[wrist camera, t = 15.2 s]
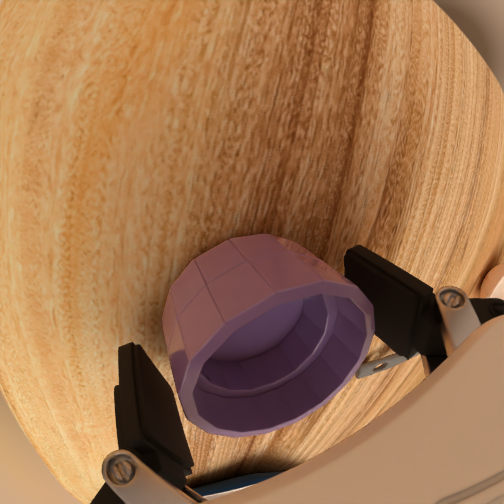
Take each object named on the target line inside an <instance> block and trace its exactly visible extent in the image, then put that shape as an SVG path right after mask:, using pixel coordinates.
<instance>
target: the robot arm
mask: <svg viewBox="0 0 504 504" xmlns="http://www.w3.org/2000/svg"><path fill="white" fill-rule="evenodd" d="M344 268H345V277H346V278H347V279H348V280H350V281H351V282H352V283H354V284H355V285H356V286H358V287H359V289H360V290H361V291H362V292H363V293H364V294H365V296H366V297H367V298H368V299H369V300H370V302H371V303H372V304H373V307H374V319H375V333H374V334H375V335H376V336H377V337H379V338H380V339H381V340H382V341H383V342H384V343H385V344H386V345H388V346H389V347H390V348H391V349H392V350H393V351H394V352H395V353H396V354H398V355H399V356H404V357H405V358H406V359H407V360H409V359H410V358H411V357H412V356H414V355H415V354H416V353H417V352H418V353H420V354H421V358H422V362H423V367H424V372H425V378H426V379H425V380H423V381H422V382H421V383H420V384H419V385H418V386H417V387H415V388H414V389H413V390H412V391H411V392H410V393H408V394H407V395H406V396H405V397H403V398H402V399H401V400H400V401H399V402H397V403H396V404H395V405H393V406H392V407H391V408H390V409H388V410H387V411H386V412H384V413H383V414H382V415H380V416H379V417H377V418H376V419H375V420H373V421H372V422H370V423H369V424H368V425H366V426H365V427H363V428H362V429H360V430H359V431H357V432H356V433H354V434H353V435H351V436H349V437H348V438H346V439H345V440H343V441H341V442H340V443H338V444H336V445H335V446H333V447H331V448H330V449H328V450H326V451H324V452H322V453H321V454H319V455H317V456H315V457H313V458H311V459H310V460H308V461H306V462H304V463H302V464H300V465H298V466H296V467H294V468H292V469H289V470H287V471H285V472H283V473H281V474H279V475H276V476H274V477H272V478H269V479H267V480H265V481H262V482H260V483H257V484H255V485H252V486H249V487H247V488H244V489H241V490H239V491H236V492H233V493H230V494H227V495H224V496H221V497H218V498H215V499H212V500H207V499H205V498H204V497H202V496H201V495H199V494H198V493H196V492H195V491H193V490H192V489H190V488H189V487H188V486H186V483H187V480H186V477H185V476H187V475H191V474H193V473H192V470H191V467H193V466H194V462H193V459H192V456H191V453H190V450H189V447H188V443H187V440H186V437H185V434H184V430H183V427H182V423H181V420H180V416H179V412H178V409H177V405H176V401H175V397H174V393H173V391H172V388H171V387H170V385H169V384H168V382H167V381H166V380H165V379H164V377H163V376H162V375H161V373H160V372H159V371H158V369H157V368H156V366H155V365H154V364H153V362H152V361H151V360H150V358H149V357H148V355H147V354H146V353H145V351H144V350H143V348H142V347H141V345H140V344H137V345H135V344H134V343H133V342H131V343H128V344H126V345H123V346H120V347H119V348H118V367H119V385H117V386H115V388H114V402H115V417H116V428H117V438H118V447H119V450H116V451H113V452H111V453H110V454H109V455H107V457H106V458H105V459H104V461H103V464H102V475H103V478H104V480H105V481H106V482H105V483H104V485H103V486H102V488H101V489H100V491H99V492H98V493H97V495H96V496H95V498H94V499H93V500H92V502H91V503H90V504H504V300H502V299H500V298H468V296H467V295H466V293H465V292H464V291H463V290H461V289H460V288H457V287H454V286H445V287H442V288H440V289H439V290H438V291H437V292H436V295H435V294H434V293H433V288H432V287H430V286H428V285H427V284H425V283H424V282H422V281H421V280H419V279H417V278H416V277H414V276H412V275H411V274H409V273H408V272H406V271H404V270H403V269H401V268H399V267H398V266H396V265H394V264H393V263H391V262H389V261H388V260H386V259H384V258H382V257H381V256H379V255H377V254H376V253H374V252H372V251H370V250H369V249H367V248H365V247H363V246H362V245H356V246H354V247H352V248H350V249H348V250H347V251H346V255H345V256H344Z"/></svg>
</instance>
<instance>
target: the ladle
mask: <svg viewBox="0 0 504 504" xmlns="http://www.w3.org/2000/svg"><path fill="white" fill-rule="evenodd" d="M480 297H481V298H500V299H502V300H504V263H503V264H500V265H497V266H495V267H494V268H492V269H491V270H490V271H489V273H488V274H487V275H486V277H485V278H484V280H483V283H482V286H481V293H480ZM418 354H420V353H418V352H417V353H416V354H415V355H414V356H416V355H418ZM414 356H412V357H414ZM412 357H411V358H412ZM406 360H407V359H406V358H405V357H404V356H399V355H398V354H396V353H395V354H392V355H389V356H386V357H384V358H381V359H378V360H373V361H370V362H367V363H364V364H361V365H360V367H359V368H358V370H357V371H356V373H355V376H356V378H358V379H359V378H363V377H366V376H369V375H372V374H374V373H377V372H380V371H383V370H386V369H389V368H391V367H393V366H395V365H398V364H400V363H402V362H404V361H406ZM381 363H383V364H382V365H381V366H379V367H377V368H375V367H376V366H377V365H379V364H381Z"/></svg>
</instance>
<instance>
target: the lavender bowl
mask: <svg viewBox="0 0 504 504" xmlns="http://www.w3.org/2000/svg"><path fill="white" fill-rule="evenodd" d="M161 322H162V327H163V332H164V337H165V342H166V347H167V352H168V356H169V361H170V365H171V369H172V373H173V378H174V382H175V386H176V389H177V393H178V397H179V400H180V402H181V405H182V408H183V411H184V414H185V417H186V418H187V420H189V421H190V422H192V423H193V424H195V425H196V426H198V427H199V428H201V429H202V430H204V431H205V432H207V433H209V434H215V435H221V436H228V437H245V436H253V435H260V434H266V433H269V432H272V431H275V430H278V429H280V428H283V427H286V426H288V425H291V424H293V423H296V422H298V421H300V420H301V419H303V418H304V417H306V416H308V415H309V414H311V413H313V412H314V411H316V410H317V409H319V408H320V407H322V406H323V405H325V404H326V403H327V402H328V401H329V400H331V399H332V398H333V397H334V396H335V395H336V394H337V393H338V392H339V391H340V390H341V389H342V388H343V387H344V386H345V385H346V384H347V383H348V382H349V381H350V380H351V378H352V377H353V375H354V374H355V373H356V371H357V370H358V368H359V367H360V365H361V364H362V362H363V361H364V359H365V358H366V356H367V353H368V350H369V347H370V345H371V342H372V339H373V336H374V333H375V319H374V307H373V304H372V303H371V302H370V300H369V299H368V298H367V297H366V296H365V294H364V293H363V292H362V291H361V290H360V289H359V287H358V286H356V285H355V284H354V283H352V282H351V281H350V280H348V279H347V278H346V277H344V276H343V275H341V274H340V273H339V272H337V271H336V270H335V269H333V268H332V267H331V266H329V265H328V264H326V263H325V262H323V261H322V260H321V259H319V258H318V257H316V256H315V255H314V254H312V253H311V252H309V251H308V250H307V249H305V248H304V247H302V246H301V245H300V244H298V243H296V242H295V241H292V240H289V239H285V238H282V237H278V236H275V235H271V234H265V233H263V234H256V235H249V236H242V237H235V238H230V239H229V240H226V241H224V242H222V243H221V244H219V245H217V246H215V247H213V248H212V249H210V250H208V251H206V252H205V253H203V254H201V255H199V256H198V257H196V258H195V259H193V260H192V261H191V262H190V263H189V264H188V266H187V267H186V268H185V269H184V271H183V272H182V273H181V274H180V275H179V277H178V278H177V279H176V280H175V282H174V283H173V284H172V285H171V287H170V290H169V292H168V296H167V300H166V304H165V307H164V311H163V315H162V321H161Z"/></svg>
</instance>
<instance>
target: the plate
mask: <svg viewBox="0 0 504 504" xmlns="http://www.w3.org/2000/svg"><path fill="white" fill-rule="evenodd" d="M283 472H285V471H283ZM283 472H269V473H255V474H250V475H244V476H238V477H235V478H231V479H228V480H224V481H220V482H216V483H212V484H208V485H204V486H200V487H197V488H193V489H192V490H193V491H195V492H196V493H198V494H199V495H201V496H202V497H204V498H205V499H207V500H212V499H215V498H218V497H221V496H224V495H227V494H230V493H233V492H236V491H239V490H241V489H244V488H247V487H249V486H252V485H255V484H257V483H260V482H262V481H265V480H267V479H269V478H272V477H274V476H276V475H279V474H281V473H283Z"/></svg>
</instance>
